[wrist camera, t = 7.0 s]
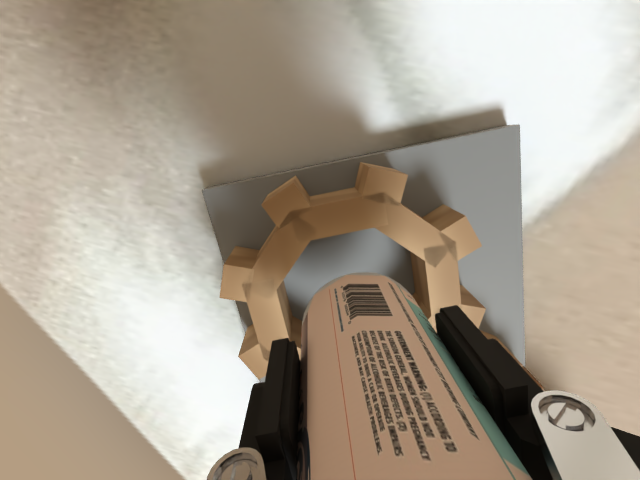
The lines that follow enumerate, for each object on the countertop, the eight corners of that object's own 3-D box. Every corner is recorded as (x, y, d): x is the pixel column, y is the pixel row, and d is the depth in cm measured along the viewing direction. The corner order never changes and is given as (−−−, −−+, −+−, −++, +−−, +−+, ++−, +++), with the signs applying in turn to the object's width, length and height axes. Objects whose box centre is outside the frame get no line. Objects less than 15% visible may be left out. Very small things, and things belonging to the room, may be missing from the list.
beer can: (279, 330, 14) (164, 1089, 3) (351, 243, 13) (605, 877, 2) (366, 386, 15) (536, 1124, 4) (439, 310, 14) (958, 996, 3)
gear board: (207, 187, 17) (201, 190, 16) (507, 125, 17) (519, 124, 16) (288, 457, 22) (287, 471, 21) (517, 415, 22) (526, 428, 21)
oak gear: (207, 193, 16) (189, 203, 14) (451, 143, 16) (476, 145, 13) (266, 391, 20) (260, 427, 17) (468, 353, 19) (490, 384, 17)
